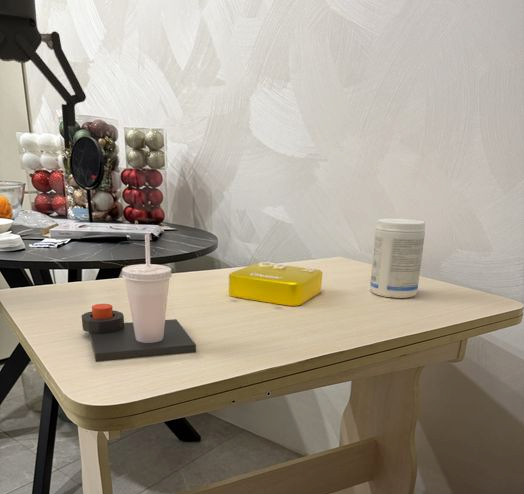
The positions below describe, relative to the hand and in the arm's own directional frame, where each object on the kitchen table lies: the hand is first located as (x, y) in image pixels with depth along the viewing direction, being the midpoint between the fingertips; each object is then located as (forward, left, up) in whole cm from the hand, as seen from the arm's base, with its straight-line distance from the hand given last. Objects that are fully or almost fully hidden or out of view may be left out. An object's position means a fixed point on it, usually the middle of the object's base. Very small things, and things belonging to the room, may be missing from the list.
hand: (21, 146), depth 83 cm
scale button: (+9, -22, -23) cm, 33 cm away
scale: (+13, -26, -25) cm, 39 cm away
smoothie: (+14, -28, -24) cm, 40 cm away
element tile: (+43, -4, -25) cm, 51 cm away
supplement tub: (+67, -9, -25) cm, 73 cm away
